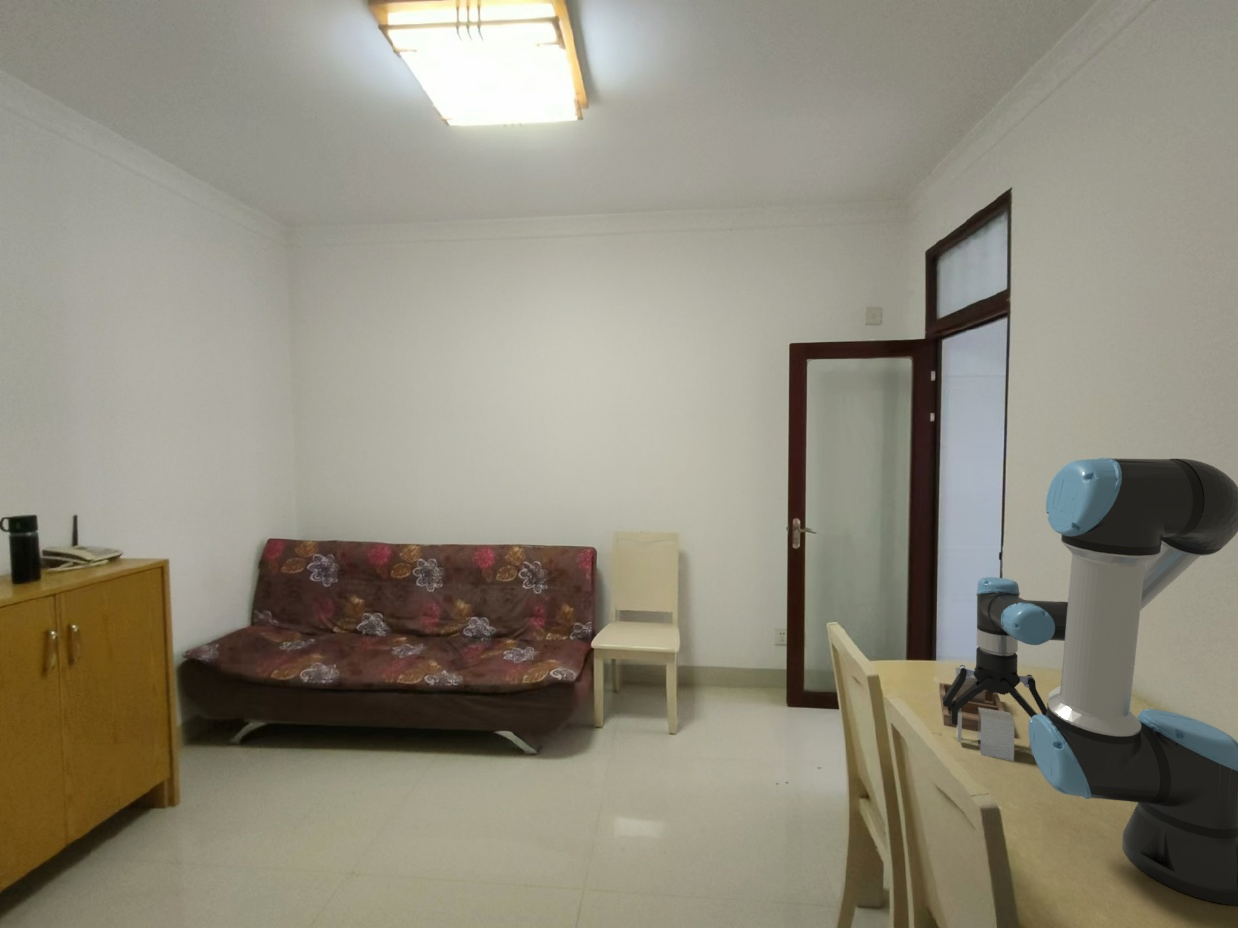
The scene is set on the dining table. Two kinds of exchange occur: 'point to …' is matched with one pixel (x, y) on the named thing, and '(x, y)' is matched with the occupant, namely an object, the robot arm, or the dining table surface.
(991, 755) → the block
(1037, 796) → the dining table surface
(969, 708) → the wooden cubby shelf
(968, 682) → the block
